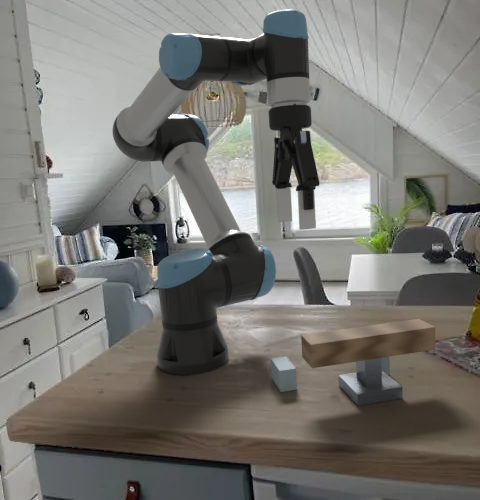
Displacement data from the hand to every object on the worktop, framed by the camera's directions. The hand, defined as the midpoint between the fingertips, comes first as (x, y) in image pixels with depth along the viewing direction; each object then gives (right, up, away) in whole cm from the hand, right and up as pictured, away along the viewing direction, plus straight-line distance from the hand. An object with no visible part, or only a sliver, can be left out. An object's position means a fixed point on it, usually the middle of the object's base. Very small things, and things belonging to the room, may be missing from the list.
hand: (295, 225), depth 90 cm
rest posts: (+7, -28, +1) cm, 29 cm away
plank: (+12, -22, -7) cm, 26 cm away
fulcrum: (+12, -29, -6) cm, 32 cm away
